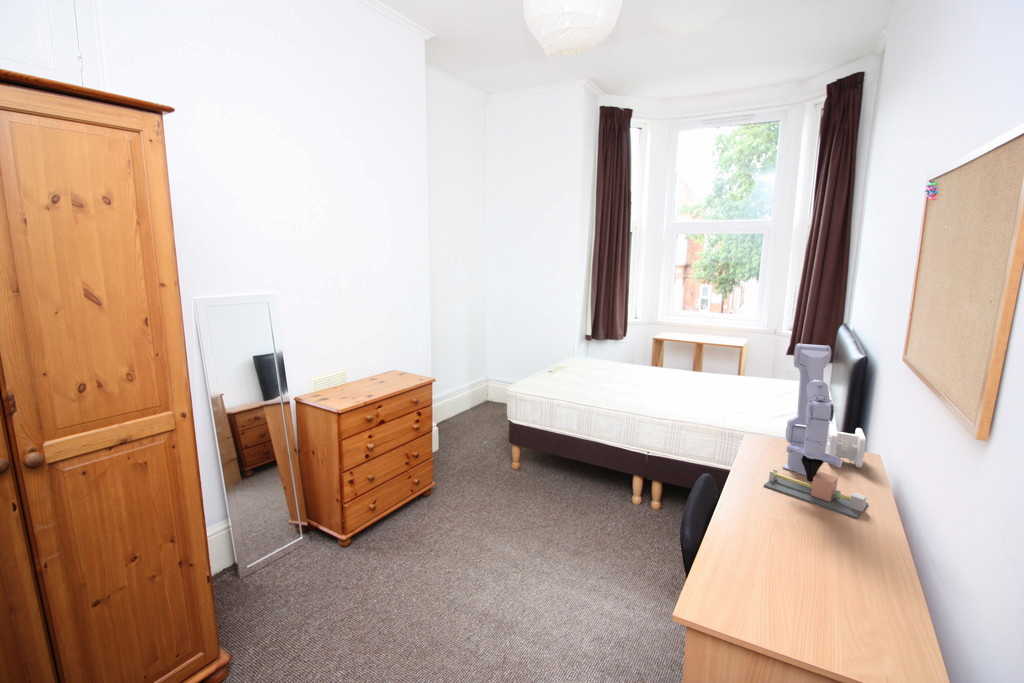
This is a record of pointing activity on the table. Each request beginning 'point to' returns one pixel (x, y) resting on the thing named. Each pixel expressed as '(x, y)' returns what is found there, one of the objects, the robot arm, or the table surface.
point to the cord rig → (803, 491)
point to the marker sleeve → (824, 486)
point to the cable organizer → (846, 445)
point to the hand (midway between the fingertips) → (810, 480)
